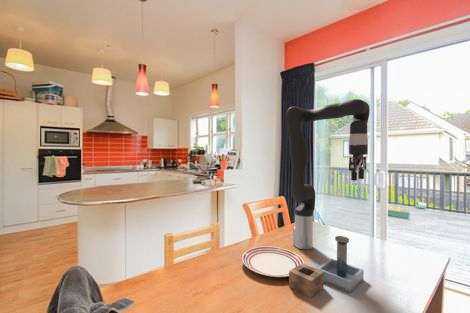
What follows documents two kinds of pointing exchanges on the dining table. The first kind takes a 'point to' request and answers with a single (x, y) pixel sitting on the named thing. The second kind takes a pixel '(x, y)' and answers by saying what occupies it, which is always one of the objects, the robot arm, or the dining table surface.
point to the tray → (346, 283)
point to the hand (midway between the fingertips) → (357, 179)
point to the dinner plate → (271, 261)
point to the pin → (342, 255)
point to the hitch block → (306, 280)
